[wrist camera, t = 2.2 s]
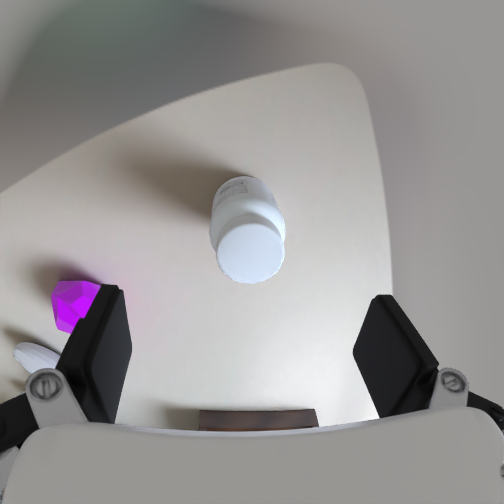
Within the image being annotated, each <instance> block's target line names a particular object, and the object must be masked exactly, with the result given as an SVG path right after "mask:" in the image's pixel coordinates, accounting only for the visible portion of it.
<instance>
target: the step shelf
mask: <svg viewBox="0 0 504 504" xmlns="http://www.w3.org/2000/svg"><path fill="white" fill-rule="evenodd" d="M315 427H319V424H318V420H317V416H316V412H315V409H311V410H293V411H256V412H246V411H208V410H200V421H199V431H216V432H247V431H276V430H292V429H305V428H315Z"/></svg>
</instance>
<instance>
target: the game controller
mask: <svg viewBox="0 0 504 504" xmlns="http://www.w3.org/2000/svg"><path fill="white" fill-rule="evenodd" d="M13 356H14V357H15V358H16V359H17V360H18V361H19V362H20V363H21V364H22V365H23V366H24V367H25V369H27V370H28V371H29V372H30V373H31V374H32V373H33V372H35V371H37V370H39V369H43V368H53V369H55V367H56V365H57V362H58V360H59V358H60V355H58V354H56V353H55V352H53V351H51V350H49V349H47V348H45V347H43V346H40V345H37V344H34V343H29V342H23V343H19V344H18V345H17V346H16V347H15V348H14V352H13ZM25 392H26V391H24V392H22V393H21V394H23V393H25Z"/></svg>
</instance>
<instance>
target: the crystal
mask: <svg viewBox="0 0 504 504" xmlns="http://www.w3.org/2000/svg"><path fill="white" fill-rule="evenodd" d="M100 287H101V286H100V285H97V284H94V283H91V282H88V281H58V283H57V285H56V287H55V289H54V290H53V292H52V294H51V299H52V307H53V312H54V317H55V322H56V326H57V328H58V330H61V331H64V332H67V333H70V334H71V333H72V331H73V329H74V327H75V325H76V323H77V321H78V320H79V318H81V317H82V318H85V316H86V314H87V312H88V310H89V308H90V306H91V304H92V302H93V300H94V298H95V296H96V294H97V292H98V290H99V289H100Z"/></svg>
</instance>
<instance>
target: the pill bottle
mask: <svg viewBox="0 0 504 504" xmlns="http://www.w3.org/2000/svg"><path fill="white" fill-rule="evenodd" d="M284 239H285V224H284V220H283V217H282V214H281V212H280V210H279V207H278V205H277V203H276V201H275V198H274V196H273V194H272V192H271V190H270V189H269V188H268V186H267V185H266V184H265V183H263V182H262V181H260V180H258V179H256V178H253V177H248V176H240V177H235V178H232V179H230V180H228V181H226V182H225V183H224V184H223V185H222V186H221V187H220V188H219V189H218V191H217V192H216V194H215V197H214V200H213V206H212V214H211V221H210V241H211V244H212V247H213V248H214V250H215V252H216V258H217V262H218V265H219V267H220V269H221V270H222V271H223V273H224V274H225V275H227V276H228V277H229V278H231V279H232V280H235V281H237V282H240V283H247V284H250V283H259V282H262V281H264V280H267V279H268V278H270V277H271V276H273V275H274V274H275V273H276V272H277V271H278V270H279V268H280V266H281V265H282V262H283V259H284V244H283V243H284Z"/></svg>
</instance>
